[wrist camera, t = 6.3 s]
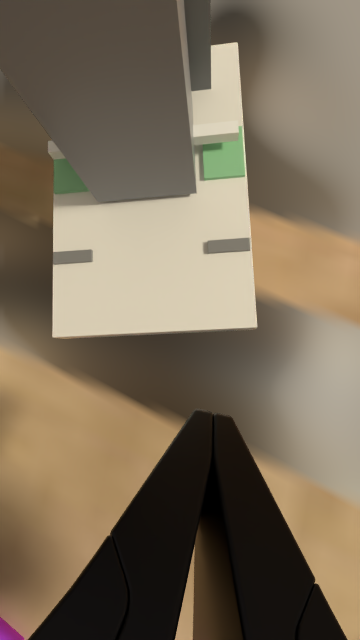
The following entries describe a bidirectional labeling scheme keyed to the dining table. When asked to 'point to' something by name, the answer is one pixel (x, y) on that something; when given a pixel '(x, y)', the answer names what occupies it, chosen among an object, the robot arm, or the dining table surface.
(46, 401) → the dining table surface
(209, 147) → the plate
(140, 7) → the gray block
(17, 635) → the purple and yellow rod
